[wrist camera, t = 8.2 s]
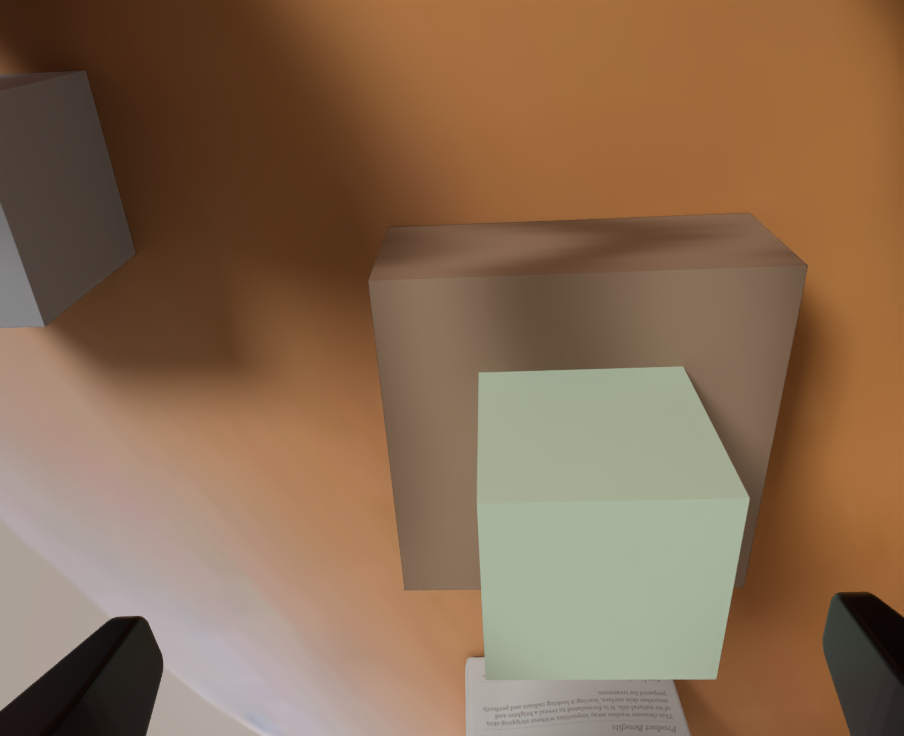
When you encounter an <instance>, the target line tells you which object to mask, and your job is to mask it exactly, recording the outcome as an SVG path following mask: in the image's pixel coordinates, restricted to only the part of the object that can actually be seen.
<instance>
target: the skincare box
mask: <svg viewBox="0 0 904 736" xmlns="http://www.w3.org/2000/svg"><path fill="white" fill-rule="evenodd" d="M465 682H466V736H691V734H690V730H689V727H688V724H687V721H686V718H685V715H684V711H683V708H682V705H681V702H680V699H679V696H678V692H677V689H676V686H675V683H674V680H673V679H670V680H486V674H485V657H470V658H468V659H467V661H466V667H465Z"/></svg>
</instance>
